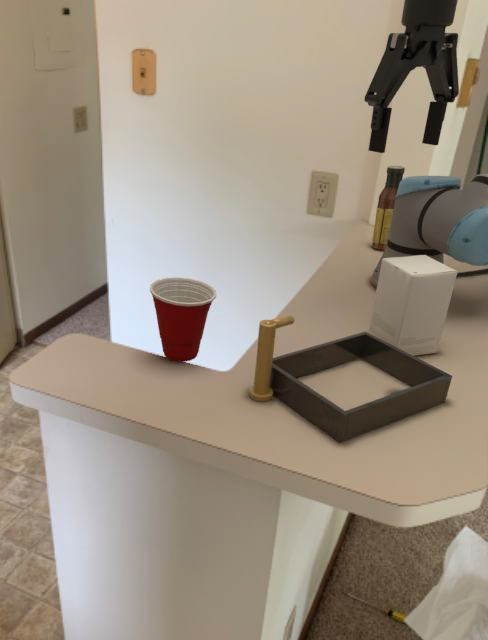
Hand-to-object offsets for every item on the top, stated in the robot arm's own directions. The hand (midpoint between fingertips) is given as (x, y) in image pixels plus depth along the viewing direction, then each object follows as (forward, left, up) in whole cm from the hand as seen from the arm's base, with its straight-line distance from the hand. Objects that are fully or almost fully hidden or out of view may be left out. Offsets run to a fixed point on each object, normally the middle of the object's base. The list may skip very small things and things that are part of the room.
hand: (404, 148), depth 102 cm
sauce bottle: (-36, -31, -31) cm, 57 cm away
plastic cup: (+40, -5, -31) cm, 51 cm away
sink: (+25, +19, -31) cm, 44 cm away
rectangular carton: (+4, +11, -31) cm, 33 cm away
